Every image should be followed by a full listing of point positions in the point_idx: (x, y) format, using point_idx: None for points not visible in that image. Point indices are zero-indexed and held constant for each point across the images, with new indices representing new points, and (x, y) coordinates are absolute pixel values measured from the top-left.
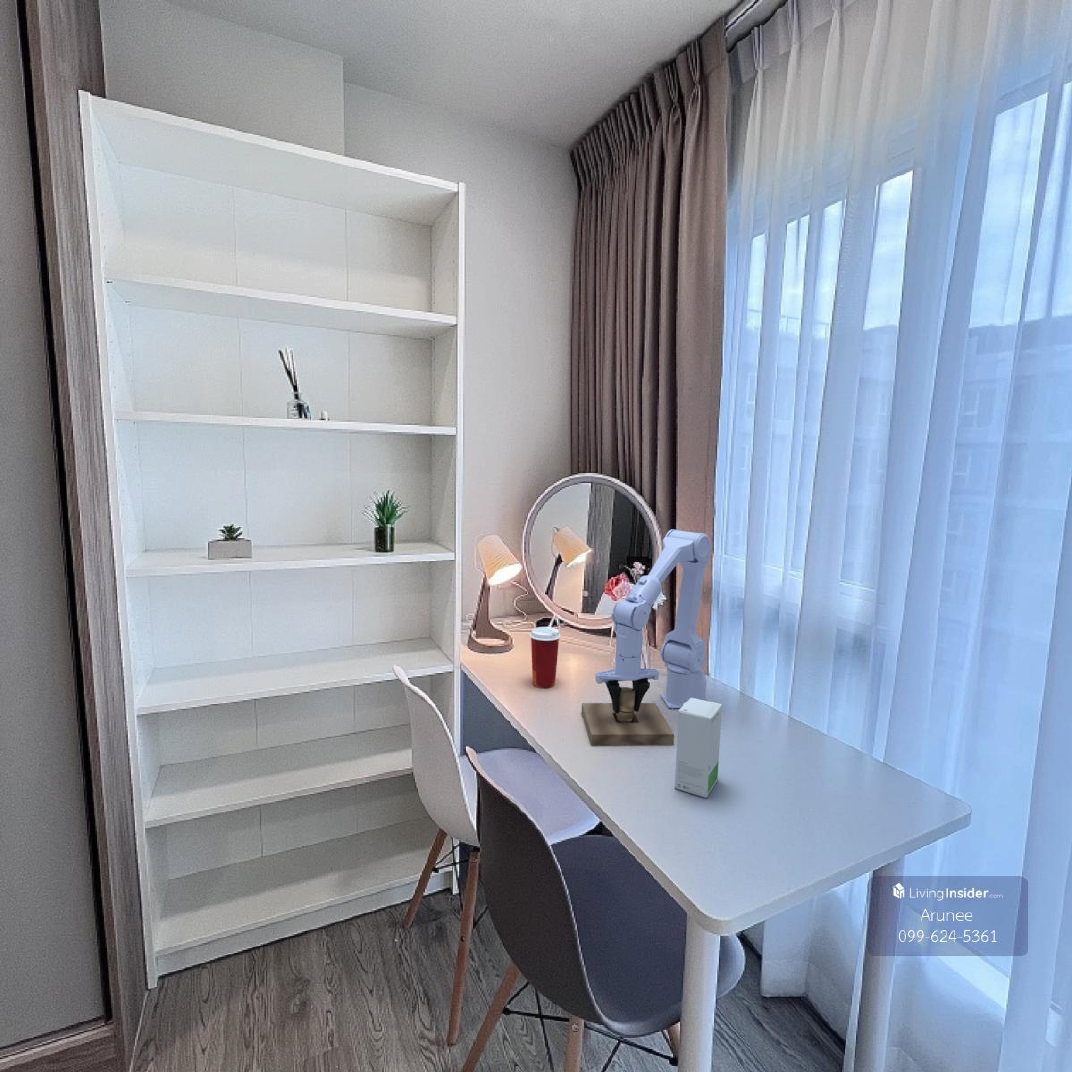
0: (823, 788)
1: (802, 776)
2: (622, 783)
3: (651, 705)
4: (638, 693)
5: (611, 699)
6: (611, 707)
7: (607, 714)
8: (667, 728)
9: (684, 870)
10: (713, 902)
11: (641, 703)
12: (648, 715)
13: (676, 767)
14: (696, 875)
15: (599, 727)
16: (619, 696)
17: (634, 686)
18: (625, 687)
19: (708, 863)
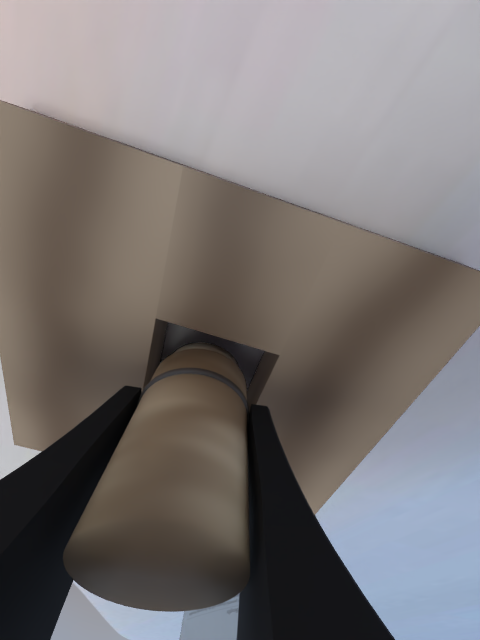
0: (446, 616)
1: (457, 599)
2: None
3: (453, 308)
4: (239, 610)
5: (72, 432)
6: (178, 252)
7: (121, 328)
8: (321, 491)
9: (123, 619)
10: (133, 636)
11: (419, 259)
12: (331, 399)
13: (182, 627)
14: (133, 624)
15: (53, 415)
16: (68, 578)
17: (255, 613)
18: (179, 530)
19: (155, 622)
